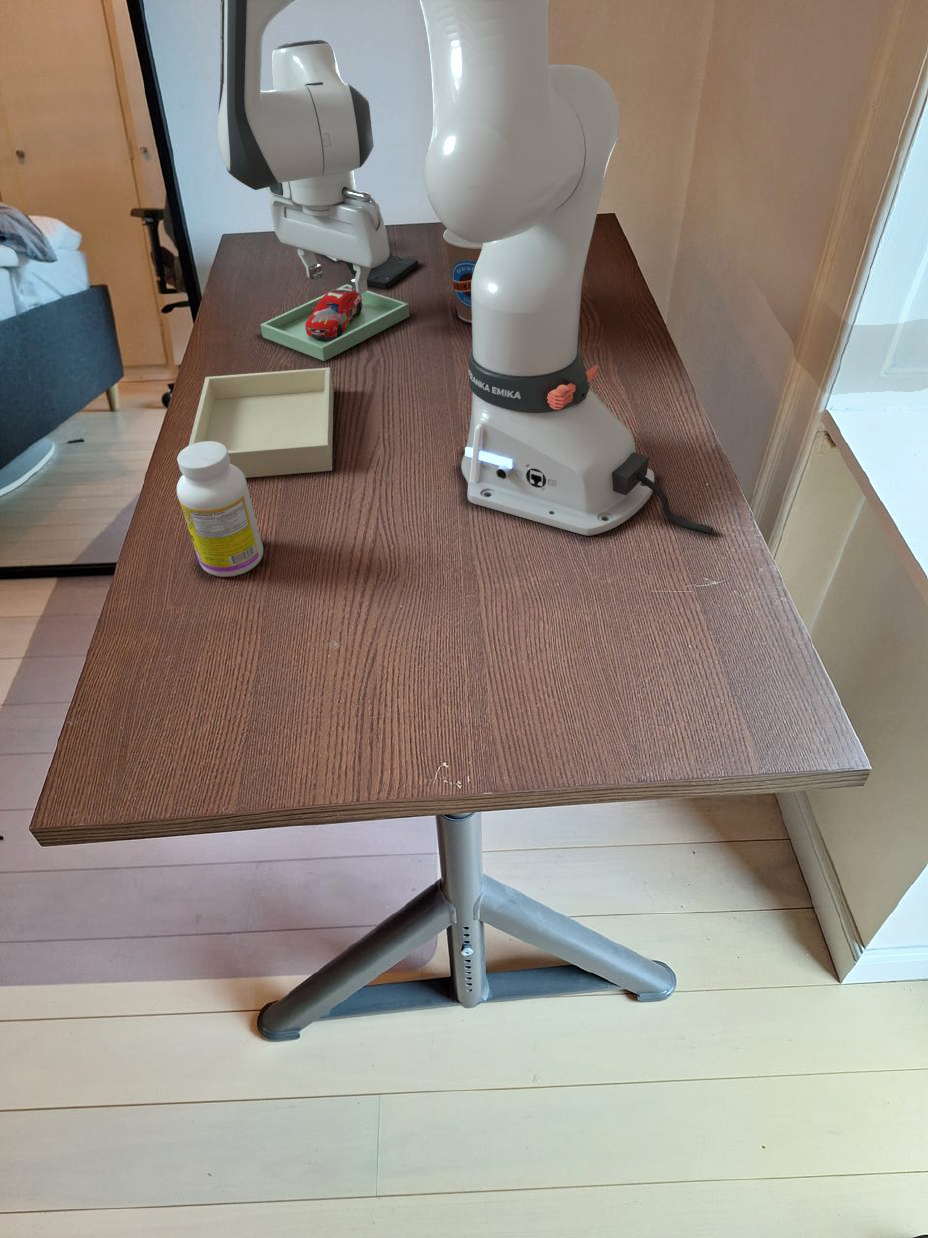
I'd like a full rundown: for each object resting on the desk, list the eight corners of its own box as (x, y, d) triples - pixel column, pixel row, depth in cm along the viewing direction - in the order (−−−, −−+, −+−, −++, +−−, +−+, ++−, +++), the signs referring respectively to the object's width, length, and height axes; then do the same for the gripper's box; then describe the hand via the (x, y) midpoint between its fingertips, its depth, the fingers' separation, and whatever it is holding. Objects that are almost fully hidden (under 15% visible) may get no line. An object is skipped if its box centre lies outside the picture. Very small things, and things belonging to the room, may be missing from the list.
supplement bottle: (212, 538, 91) (181, 433, 83) (272, 540, 91) (247, 435, 82) (190, 578, 87) (155, 472, 78) (253, 581, 86) (225, 474, 77)
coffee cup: (437, 324, 128) (432, 242, 120) (459, 297, 135) (456, 217, 127) (502, 332, 126) (502, 248, 117) (521, 303, 133) (523, 223, 124)
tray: (409, 316, 131) (408, 303, 129) (324, 361, 121) (322, 347, 119) (348, 296, 137) (347, 283, 135) (262, 337, 127) (260, 324, 125)
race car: (335, 345, 123) (331, 318, 120) (301, 341, 124) (296, 314, 122) (369, 307, 132) (366, 281, 129) (337, 304, 133) (333, 278, 131)
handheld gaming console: (398, 279, 137) (360, 223, 134) (367, 303, 141) (329, 250, 138) (423, 263, 146) (388, 210, 143) (393, 286, 150) (358, 235, 147)
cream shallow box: (211, 400, 113) (205, 376, 111) (333, 391, 114) (329, 367, 112) (193, 482, 99) (185, 456, 97) (332, 470, 100) (327, 444, 98)
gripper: (393, 188, 111) (403, 293, 121) (290, 165, 122) (307, 264, 131) (359, 201, 108) (372, 308, 117) (256, 177, 118) (275, 277, 128)
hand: (337, 284), depth 124 cm, fingers open, 8 cm apart
